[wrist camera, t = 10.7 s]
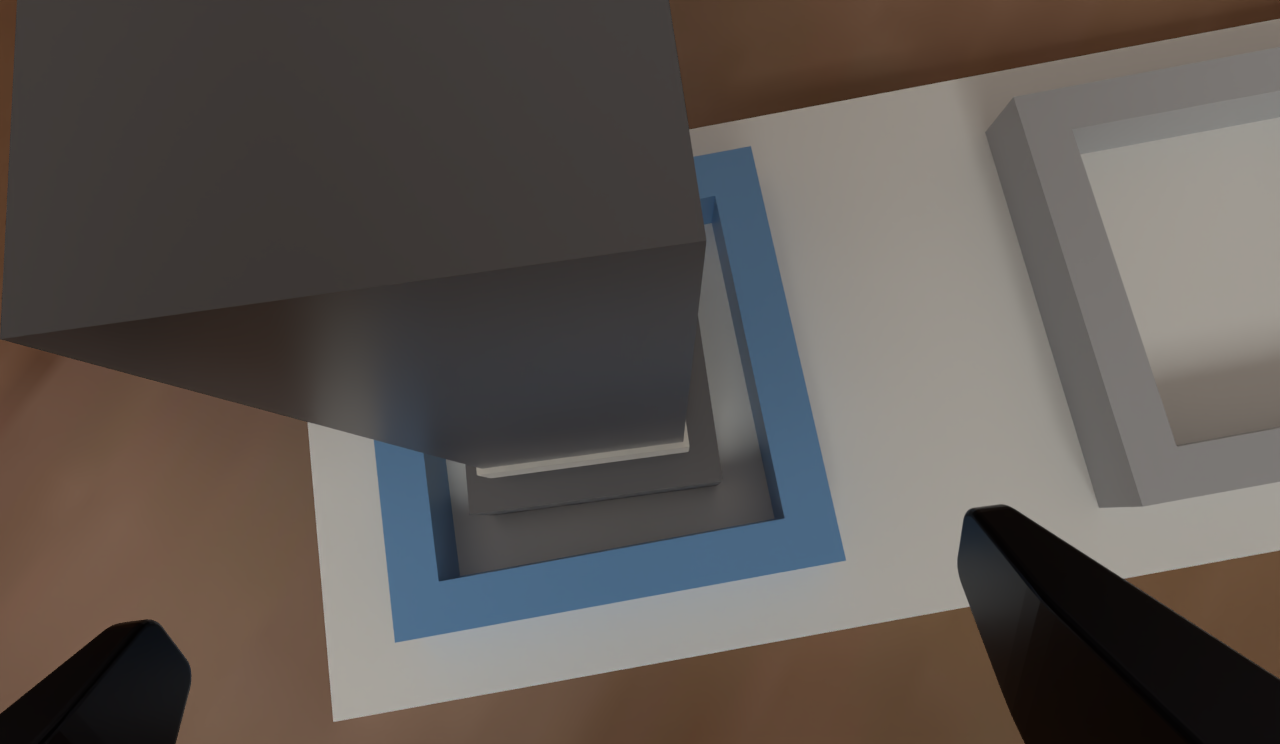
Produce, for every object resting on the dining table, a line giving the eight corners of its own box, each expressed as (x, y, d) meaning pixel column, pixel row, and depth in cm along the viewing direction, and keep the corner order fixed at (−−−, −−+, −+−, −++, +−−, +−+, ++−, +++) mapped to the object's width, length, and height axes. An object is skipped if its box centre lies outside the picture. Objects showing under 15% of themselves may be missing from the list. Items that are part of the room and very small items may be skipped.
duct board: (1380, 19, 19) (1485, -56, 16) (1585, 486, 16) (1746, 480, 14) (308, 220, 19) (254, 176, 17) (353, 709, 17) (297, 742, 14)
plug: (717, 485, 16) (873, 357, 3) (493, 515, 16) (-147, 496, 4) (685, 272, 17) (716, -430, 4) (475, 301, 17) (-76, -304, 5)
